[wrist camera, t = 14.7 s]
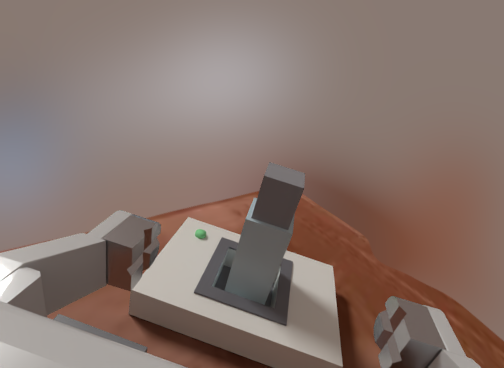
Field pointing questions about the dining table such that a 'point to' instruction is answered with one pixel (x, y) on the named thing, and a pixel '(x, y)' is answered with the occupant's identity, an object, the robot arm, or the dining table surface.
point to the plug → (266, 234)
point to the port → (241, 302)
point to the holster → (99, 332)
